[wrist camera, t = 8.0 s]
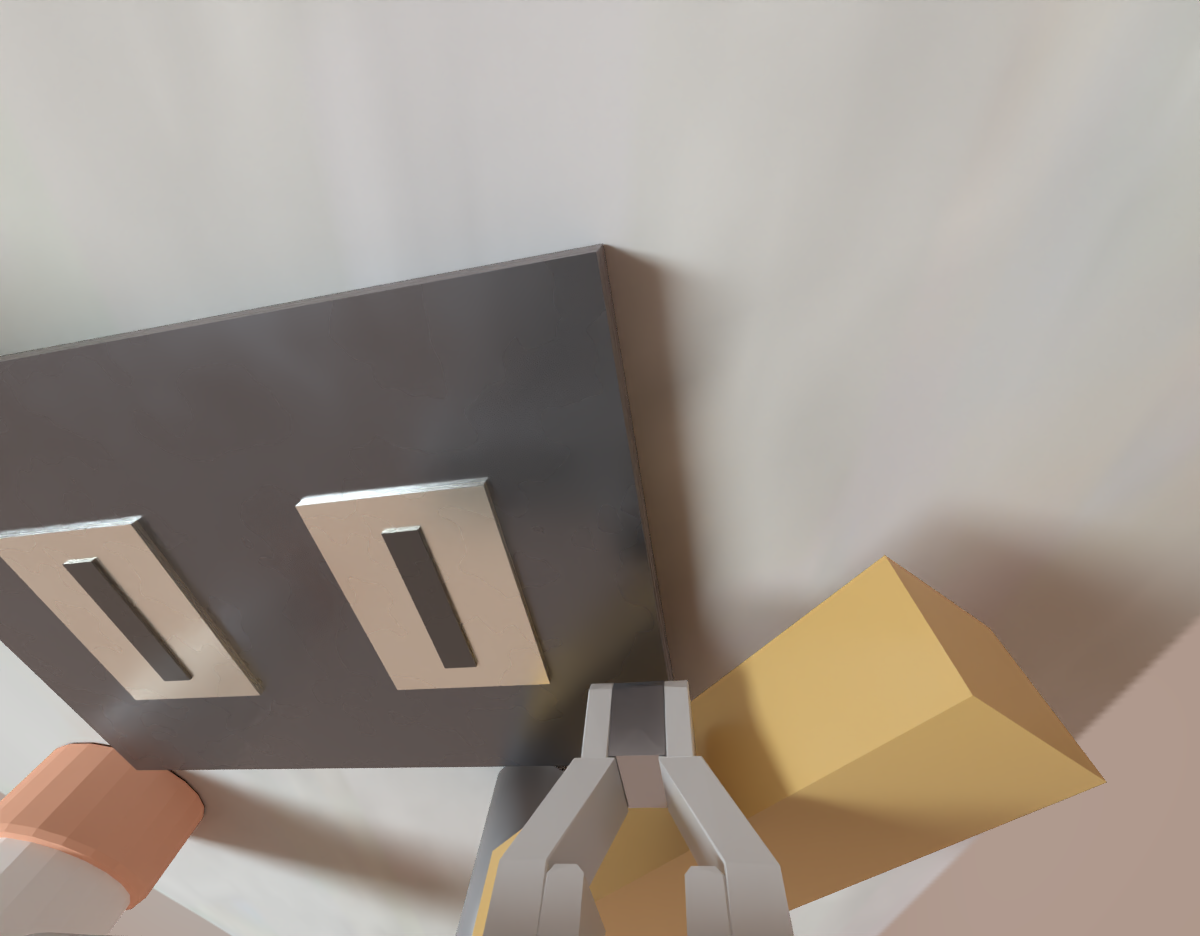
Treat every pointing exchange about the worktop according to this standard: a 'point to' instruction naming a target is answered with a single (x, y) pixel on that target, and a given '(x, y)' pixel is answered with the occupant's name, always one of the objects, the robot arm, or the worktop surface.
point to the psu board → (336, 526)
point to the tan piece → (833, 756)
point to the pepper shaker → (87, 840)
